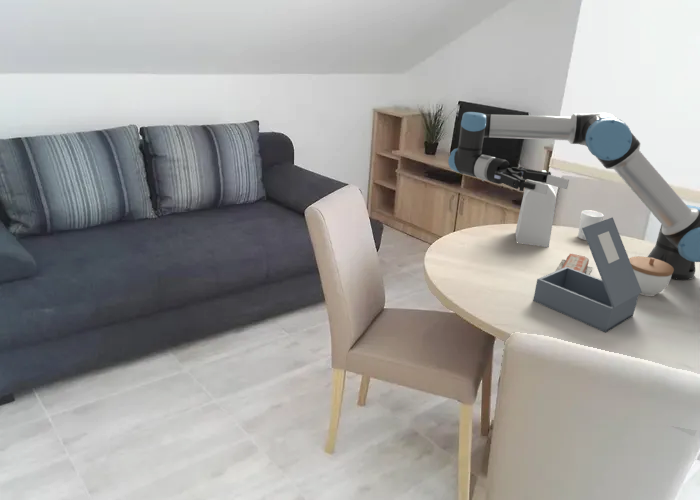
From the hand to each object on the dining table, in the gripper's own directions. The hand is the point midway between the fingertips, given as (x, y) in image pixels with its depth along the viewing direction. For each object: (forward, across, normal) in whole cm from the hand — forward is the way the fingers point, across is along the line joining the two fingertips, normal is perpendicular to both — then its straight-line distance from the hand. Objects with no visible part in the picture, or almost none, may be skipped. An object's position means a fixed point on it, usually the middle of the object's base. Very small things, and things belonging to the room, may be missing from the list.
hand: (557, 187), depth 161 cm
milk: (-26, -38, -32) cm, 56 cm away
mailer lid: (+20, 0, -16) cm, 25 cm away
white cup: (-15, -59, -32) cm, 69 cm away
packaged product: (0, -20, -33) cm, 39 cm away
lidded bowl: (+20, -28, -32) cm, 47 cm away
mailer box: (+15, 0, -32) cm, 35 cm away
